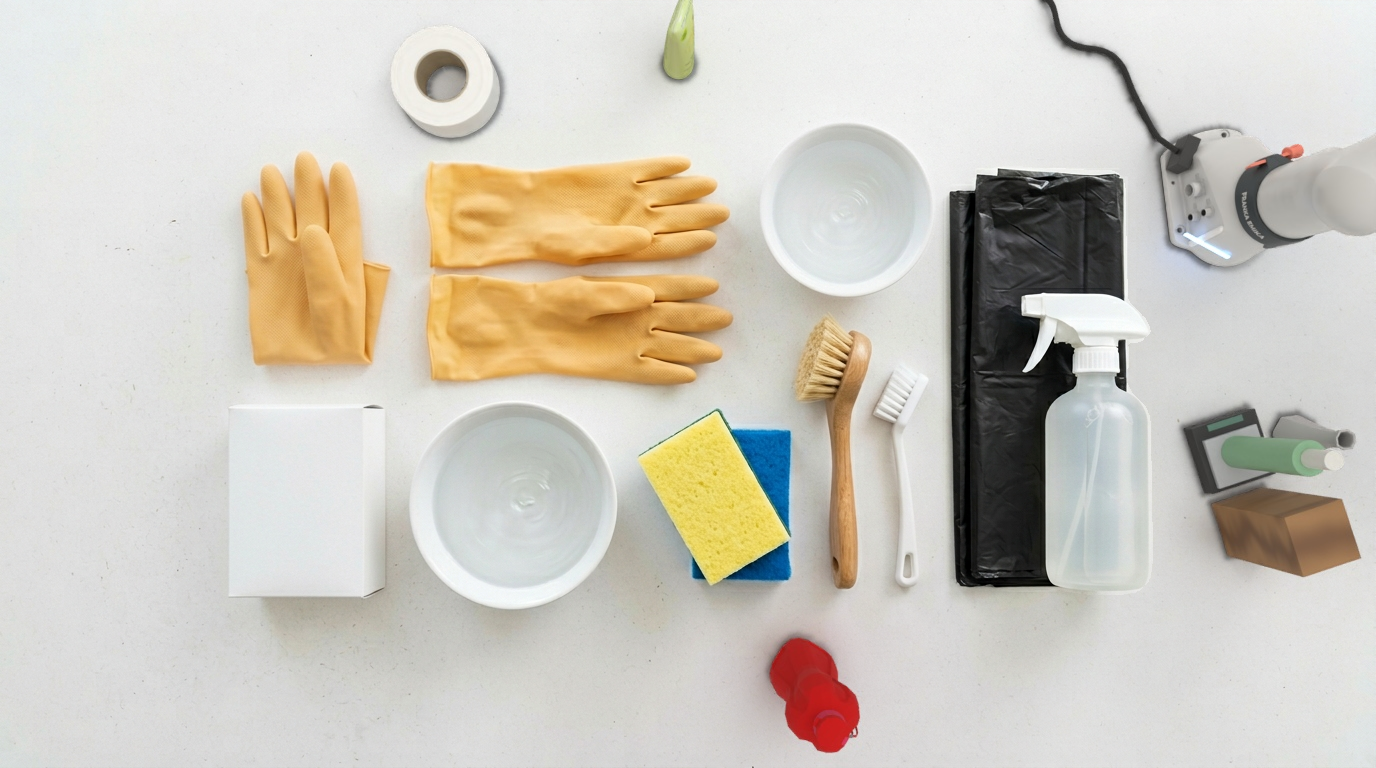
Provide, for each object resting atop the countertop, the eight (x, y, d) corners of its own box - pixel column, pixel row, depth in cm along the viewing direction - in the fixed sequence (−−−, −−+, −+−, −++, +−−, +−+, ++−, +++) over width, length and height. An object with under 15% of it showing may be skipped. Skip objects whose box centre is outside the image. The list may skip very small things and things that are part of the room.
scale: (1183, 428, 126) (1194, 429, 123) (1245, 408, 126) (1257, 408, 123) (1204, 492, 126) (1215, 494, 123) (1266, 472, 126) (1279, 473, 123)
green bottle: (1216, 441, 123) (1310, 448, 105) (1247, 431, 123) (1346, 436, 105) (1226, 472, 123) (1322, 484, 105) (1257, 462, 123) (1357, 473, 105)
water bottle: (818, 713, 123) (857, 792, 98) (760, 677, 123) (784, 747, 98) (849, 663, 123) (895, 730, 98) (791, 627, 123) (822, 685, 98)
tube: (700, 76, 125) (706, 16, 105) (671, 88, 125) (672, 31, 105) (686, 44, 125) (689, -22, 105) (657, 56, 125) (656, -7, 105)
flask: (1309, 462, 126) (1365, 468, 116) (1267, 453, 126) (1319, 458, 116) (1317, 419, 126) (1373, 421, 116) (1275, 410, 126) (1327, 411, 116)
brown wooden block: (1210, 503, 126) (1284, 517, 111) (1261, 486, 126) (1342, 498, 111) (1227, 556, 125) (1303, 577, 110) (1279, 539, 126) (1361, 558, 111)
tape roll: (493, 35, 124) (485, 18, 118) (506, 131, 124) (498, 119, 118) (396, 47, 123) (383, 30, 118) (408, 143, 123) (396, 131, 118)
